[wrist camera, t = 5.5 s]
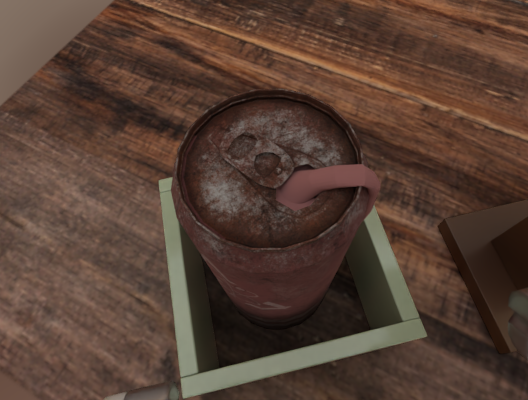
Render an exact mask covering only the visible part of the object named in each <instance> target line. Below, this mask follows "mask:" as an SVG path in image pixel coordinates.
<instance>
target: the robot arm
mask: <svg viewBox="0 0 528 400" xmlns="http://www.w3.org/2000/svg"><path fill="white" fill-rule="evenodd" d="M508 307H509V308H510V309H511V310H512V311H513V312H514V313H513V314H512V316H511V317H510V319H509V321H508V334H509V337H510V339H511V341H512V344H513V345H514V347H515V348H516V349H517V351H518V352H519V353H520V354H521V355H522V356H523V357H524V358H525V359H526V360H527V361H528V287H527V288H523V289H519V290H516V291H512V292H511V294H510V296H509V298H508ZM179 394H180V393H179V390H178V388H177V386H176V383H175V382H174V381H168V382H164V383H160V384H155V385H151V386H147V387H143V388H138V389H134V390H130V391H128V392H124V393H119V394H115V395H111V396H107V397H106V398H105V399H104V400H179Z"/></svg>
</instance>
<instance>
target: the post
mask: <svg viewBox="0 0 528 400" xmlns="http://www.w3.org/2000/svg"><path fill="white" fill-rule="evenodd" d="M438 228H439V230H440V232H441V234H442V236H443V238H444V240H445V242H446V244H447V246H448V248H449V251H450V253H451V255H452V257H453V259H454V261H455V263H456V265H457V267H458V269H459V271H460V273H461V275H462V278H463V280H464V282H465V284H466V286H467V288H468V290H469V292H470V294H471V296H472V298H473V300H474V302H475V304H476V307H477V309H478V311H479V313H480V315H481V317H482V319H483V321H484V323H485V325H486V327H487V329H488V331H489V334H490V336H491V338H492V340H493V342H494V344H495V346H496V348H497V350H498V352H499V354H505V353H513V352H516V351H517V349H516V348H515V347H514V345H513V344H512V341H511V339H510V337H509V334H508V321H509V319H510V317H511V316H512V314H513V313H514V312H513V311H512V310H511V309H510V308H509V307H508V298H509V296H510V294H511V292H512V291H516V290H519V289H523V288H527V287H528V199H527V200H523V201H518V202H514V203H510V204H506V205H501V206H497V207H493V208H489V209H485V210H480V211H476V212H472V213H468V214H463V215H459V216H455V217H451V218H446V219H444V220H443V221H442V222H441V223H440V224H439V225H438Z"/></svg>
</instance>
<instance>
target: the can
mask: <svg viewBox="0 0 528 400" xmlns="http://www.w3.org/2000/svg"><path fill="white" fill-rule="evenodd" d="M380 187H381V184H380V181H379V180H378V178H377V176H376V174H375V172H374V171H373V170H371V169H369V168H368V162H367V159H366V157H365V156H364V154H363V151H362V146H361V144H360V142H359V140H358V138H357V136H356V134H355V132H354V130H353V129H352V127H351V125H350V123H349V122H348V121H346V120H345V119H344V118H343V117H342V116H341V115H340V114H339V113H338V112H337V111H336V110H335V109H334V108H333V107H332V106H330V105H328V104H326V103H324V102H322V101H320V100H318V99H317V98H315V97H313V96H311V95H309V94H305V93H300V92H296V91H291V90H287V89H255V90H251V91H247V92H244V93H240V94H236V95H233V96H230V97H228V98H226V99H224V100H223V101H221V102H219V103H217V104H215V105H214V106H212V107H210V108H208V109H207V110H206V111H205V112H204V113H203V114H202V115H201V116H200V117H199V118H198V119H197V120H196V121H195V122H194V123H193V124H192V125H191V126H190V127H189V129H188V131H187V133H186V135H185V137H184V138H183V140H182V142H181V144H180V146H179V148H178V152H177V159H176V162H175V164H174V171H173V178H172V185H171V194H172V199H173V203H174V208H175V212H176V217H177V219H178V221H179V222H180V224H181V225H182V227H183V228H184V230H185V231H186V233H187V234H188V236H189V237H190V239H191V240H192V242H193V243H194V245H195V247H196V248H197V250H198V251H199V253H200V254H201V256H202V257H203V259H204V260H205V262H206V263H207V265H208V266H209V268H210V269H211V271H212V272H213V274H214V275H215V277H216V278H217V280H218V281H219V283H220V284H221V286H222V287H223V289H224V290H225V292H226V293H227V295H228V296H229V298H230V299H231V301H232V302H233V304H234V305H235V307H236V308H237V310H238V311H239V313H240V314H241V315H242V316H244V317H245V318H246V319H248V320H249V321H250V322H251V323H253V324H256V325H258V326H261V327H264V328H267V329H286V328H289V327H292V326H295V325H298V324H301V323H302V322H303V321H305V320H306V319H307V318H309V317H310V316H311V315H313V314H314V312H315V311H316V309H317V308H318V306H319V305H320V303H321V302H322V300H323V298H324V296H325V294H326V292H327V290H328V288H329V286H330V284H331V282H332V280H333V278H334V276H335V274H336V272H337V270H338V268H339V266H340V264H341V262H342V260H343V258H344V256H345V254H346V252H347V250H348V248H349V246H350V244H351V242H352V240H353V238H354V236H355V234H356V232H357V230H358V228H359V226H360V224H361V223H362V222H363V220H364V219H365V218H366V217H367V216H368V215H369V213H370V212H371V211H372V208H373V206H374V203H375V201H376V198H377V196H378V193H379V191H380Z"/></svg>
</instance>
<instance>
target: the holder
mask: <svg viewBox="0 0 528 400" xmlns="http://www.w3.org/2000/svg"><path fill="white" fill-rule="evenodd" d="M172 178H173V177H171V178H167V179H162V180H159V191H160V199H161V208H162V217H163V226H164V235H165V244H166V253H167V262H168V271H169V280H170V289H171V298H172V307H173V316H174V325H175V334H176V343H177V352H178V361H179V370H180V376H181V377H182V378H181V389H182V397H183V399H185V398H190V397H195V396H200V395H205V394H210V393H214V392H218V391H222V390H225V389H229V388H233V387H237V386H241V385H245V384H249V383H253V382H257V381H261V380H265V379H269V378H272V377H276V376H280V375H284V374H288V373H292V372H296V371H300V370H304V369H308V368H312V367H316V366H319V365H323V364H327V363H331V362H335V361H339V360H343V359H347V358H351V357H355V356H359V355H363V354H366V353H370V352H374V351H378V350H382V349H386V348H390V347H393V346H397V345H400V344H404V343H407V342H411V341H414V340H418V339H421V338H424V337H427V334H426V331H425V329H424V326H423V324H422V321H421V319H420V318H419V314H418V312H417V309H416V307H415V304H414V302H413V299H412V297H411V294H410V292H409V290H408V287H407V285H406V282H405V280H404V277H403V275H402V272H401V270H400V267H399V265H398V263H397V260H396V258H395V255H394V253H393V250H392V248H391V245H390V243H389V240H388V238H387V236H386V233H385V231H384V228H383V226H382V223H381V221H380V218H379V216H378V213H377V211H376V209H375V206H373V208H372V211H371V212H370V213H369V215H368V216H367V217H366V218H365V219H364V220H363V222H362V223H361V224H360V226H359V228H358V230H357V232H356V234H355V236H354V238H353V240H352V242H351V244H350V246H349V248H348V250H347V252H346V254H345V256H346V259H347V262H348V265H349V268H350V271H351V274H352V277H353V280H354V283H355V286H356V289H357V291H358V294H359V297H360V300H361V303H362V306H363V309H364V312H365V315H366V318H367V321H368V324H369V326H370V329H371V330H369V331H365V332H361V333H357V334H353V335H349V336H345V337H341V338H337V339H333V340H329V341H325V342H321V343H317V344H313V345H309V346H305V347H301V348H297V349H293V350H289V351H285V352H281V353H277V354H273V355H270V356H266V357H262V358H258V359H254V360H250V361H246V362H242V363H238V364H234V365H230V366H226V367H222V368H219V361H218V355H217V349H216V342H215V336H214V329H213V323H212V317H211V310H210V304H209V298H208V291H207V285H206V278H205V272H204V266H203V259H202V256H201V254H200V253H199V251H198V250H197V248H196V247H195V245H194V243H193V242H192V240H191V239H190V237H189V236H188V234H187V233H186V231H185V230H184V228H183V227H182V225H181V224H180V222H179V221H178V219H177V217H176V212H175V208H174V203H173V199H172V194H171V185H172Z"/></svg>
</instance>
